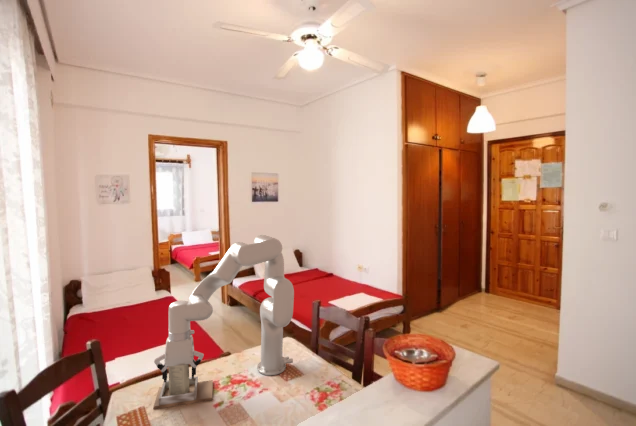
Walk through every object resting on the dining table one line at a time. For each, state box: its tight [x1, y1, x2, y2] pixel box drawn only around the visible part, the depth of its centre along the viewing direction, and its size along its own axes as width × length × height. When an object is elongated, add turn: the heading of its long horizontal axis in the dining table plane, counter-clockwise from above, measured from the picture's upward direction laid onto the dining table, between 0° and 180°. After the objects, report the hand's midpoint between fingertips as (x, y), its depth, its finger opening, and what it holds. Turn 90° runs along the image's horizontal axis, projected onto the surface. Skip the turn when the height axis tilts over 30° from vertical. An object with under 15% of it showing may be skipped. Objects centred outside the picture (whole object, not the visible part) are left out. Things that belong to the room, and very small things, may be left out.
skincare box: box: [167, 364, 190, 396], centre depth 125 cm, size 6×4×12 cm
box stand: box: [153, 376, 214, 410], centre depth 126 cm, size 20×12×4 cm, turn 107°
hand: (179, 378), depth 125 cm, fingers open, 9 cm apart
